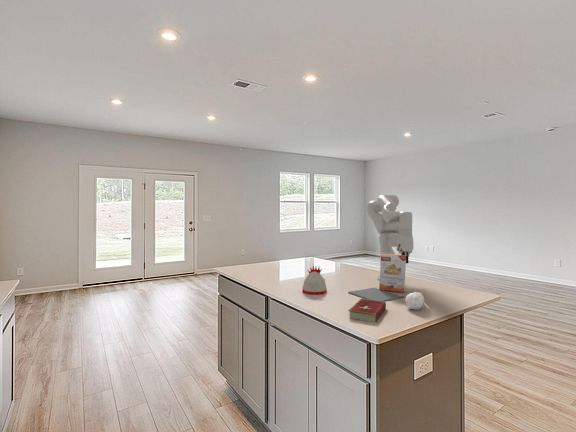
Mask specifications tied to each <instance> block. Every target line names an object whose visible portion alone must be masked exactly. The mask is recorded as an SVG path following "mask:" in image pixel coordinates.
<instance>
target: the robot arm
mask: <svg viewBox="0 0 576 432" xmlns="http://www.w3.org/2000/svg"><path fill="white" fill-rule="evenodd" d="M399 204H400V199H399V197H398V196H397V195H395V194H380V195H379V196H378V197H377V199H376V200H370V201H369V202H368V203H367V204H366V211H367V215H368V217H369V218H370V220H371V221H372V223H373V225H374V227H375V230H376V232H377V233H378V234H379V236H378V243H379V251H380V253H379V254H380V255H379V256H380V262H379V263H380V264H379V265H381V253H383V254H396V252H395V250H394V249H393V248H394V247H395V248H396V251H397V253H398V255H406V264H409V257H410V254H412V253H413V251H414V237H413V212H412V211H403V210H401V211H400V210H399V211H398V210H397V207H398V206H399ZM396 210H397V211H396ZM377 280H378V281H380V275H379V276H378V277H377Z"/></svg>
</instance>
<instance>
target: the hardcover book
mask: <svg viewBox="0 0 576 432" xmlns="http://www.w3.org/2000/svg"><path fill="white" fill-rule="evenodd" d="M386 302H387V301H377V300H369V299H364V298H361V297H360V299H358V301H356V303H355V304H354V305H352V306H351V307H350V308H349V309H348V312H349V319H352V318H354V320H358V319H360V320H359V321H364V320H366V321H365V322H370V321H373V322H372V323H375V322H376V323H377V321H378V320H379V319H380V317H381V316H382V315H383V313H384V312H385V310H387V303H386ZM378 318H379V319H378Z"/></svg>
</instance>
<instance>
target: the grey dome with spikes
mask: <svg viewBox="0 0 576 432" xmlns="http://www.w3.org/2000/svg"><path fill="white" fill-rule="evenodd" d="M309 269H310V270H309ZM309 269H307V275H306V277H305V279H304V281H303V284H302V293H304V294H305V293H306V295H310V296H311V295H313V296H317V295H318V296H319V295H324V294H326V293H327V289H328V288H327V285H326V284H327V283H326V279H325V277H324V276H323V275H322V274H321V272H322V268H320V267H318V268H317V266H315V267H314V265H313V266H312V267H310V268H309Z"/></svg>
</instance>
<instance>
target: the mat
mask: <svg viewBox="0 0 576 432" xmlns="http://www.w3.org/2000/svg"><path fill="white" fill-rule="evenodd" d="M347 293H348V294H350V295H353V296H356V297H359V298H360V299H361V298H362V299H369V300H377V301H384V302H388V301H394V300H398V299H404V297H405V296H404V295H400V294H397V293H394V292H392V291H388V290H379V288H377V287H370V288H363V289H357V290H351V291H348V292H347Z"/></svg>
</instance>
